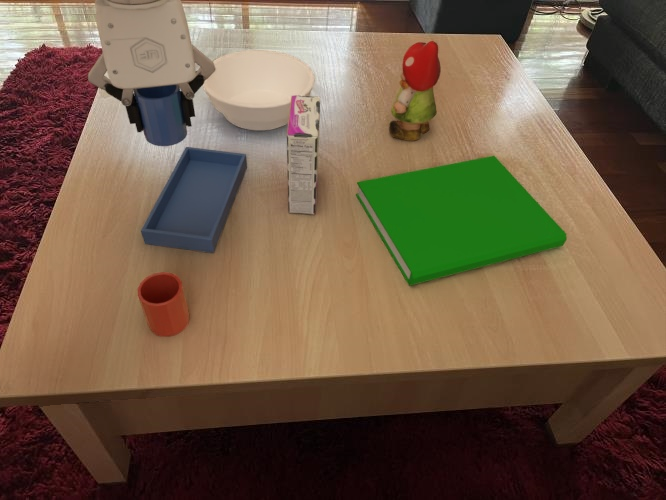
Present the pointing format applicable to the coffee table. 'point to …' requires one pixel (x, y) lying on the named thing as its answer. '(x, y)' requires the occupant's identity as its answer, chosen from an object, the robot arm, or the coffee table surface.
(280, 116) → the bowl
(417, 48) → the figurine
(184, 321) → the red cup
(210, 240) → the blue tray
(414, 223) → the book
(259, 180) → the coffee table surface
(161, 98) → the blue cup
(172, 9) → the robot arm
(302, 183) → the candy bar box
